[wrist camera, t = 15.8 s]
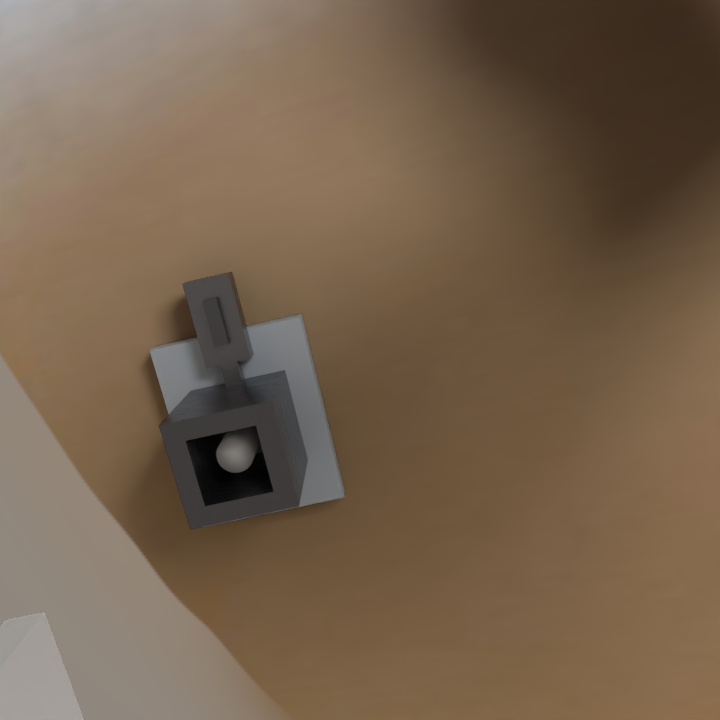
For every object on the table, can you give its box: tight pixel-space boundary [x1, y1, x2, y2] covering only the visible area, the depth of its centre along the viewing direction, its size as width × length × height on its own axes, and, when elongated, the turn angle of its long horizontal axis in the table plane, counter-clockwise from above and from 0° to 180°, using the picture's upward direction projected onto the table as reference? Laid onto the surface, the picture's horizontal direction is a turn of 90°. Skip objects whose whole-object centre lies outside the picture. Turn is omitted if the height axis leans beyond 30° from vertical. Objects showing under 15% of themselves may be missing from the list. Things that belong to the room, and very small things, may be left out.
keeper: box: [150, 314, 344, 527], centre depth 46 cm, size 14×11×8 cm
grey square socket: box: [159, 272, 308, 529], centre depth 44 cm, size 15×7×8 cm, turn 13°
